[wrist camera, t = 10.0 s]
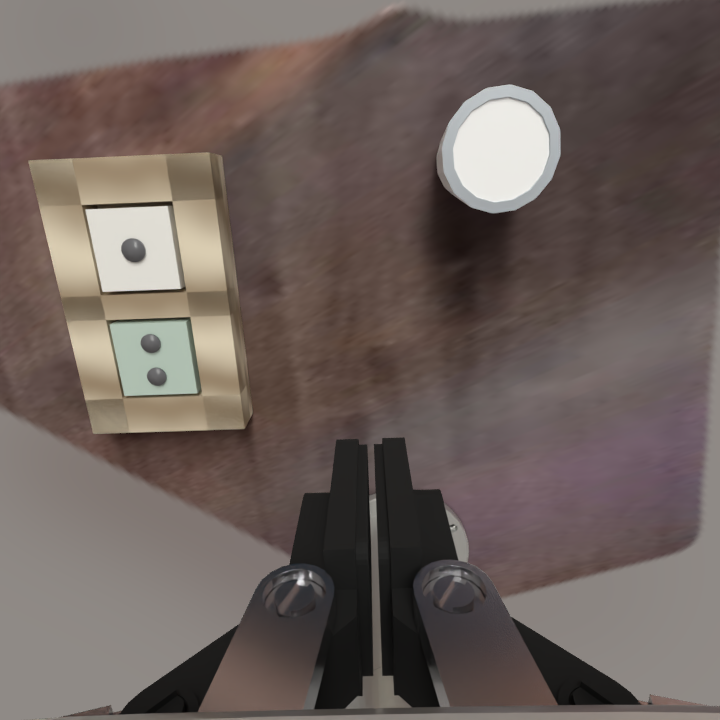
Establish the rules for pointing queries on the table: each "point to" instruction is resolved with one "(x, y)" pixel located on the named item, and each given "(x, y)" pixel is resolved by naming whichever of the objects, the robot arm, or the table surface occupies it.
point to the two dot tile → (156, 356)
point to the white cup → (499, 149)
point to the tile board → (196, 300)
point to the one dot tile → (136, 248)
